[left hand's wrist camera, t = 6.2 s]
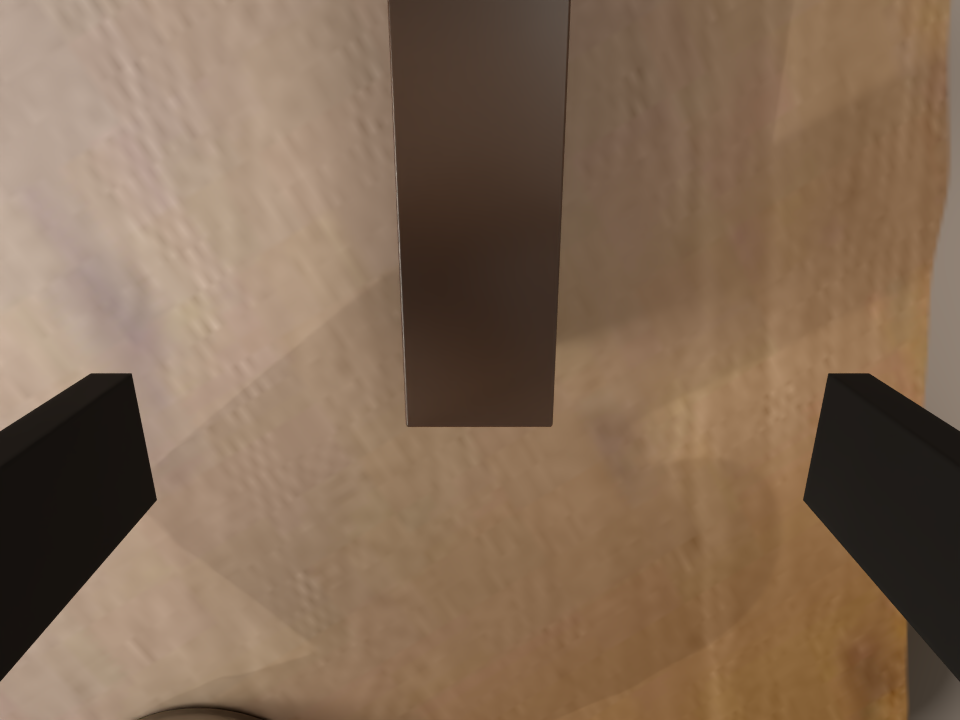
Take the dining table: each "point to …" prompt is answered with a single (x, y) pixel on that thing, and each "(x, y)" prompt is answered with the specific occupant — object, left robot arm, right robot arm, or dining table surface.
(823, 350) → the dining table surface
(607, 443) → the dining table surface
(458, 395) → the beam
